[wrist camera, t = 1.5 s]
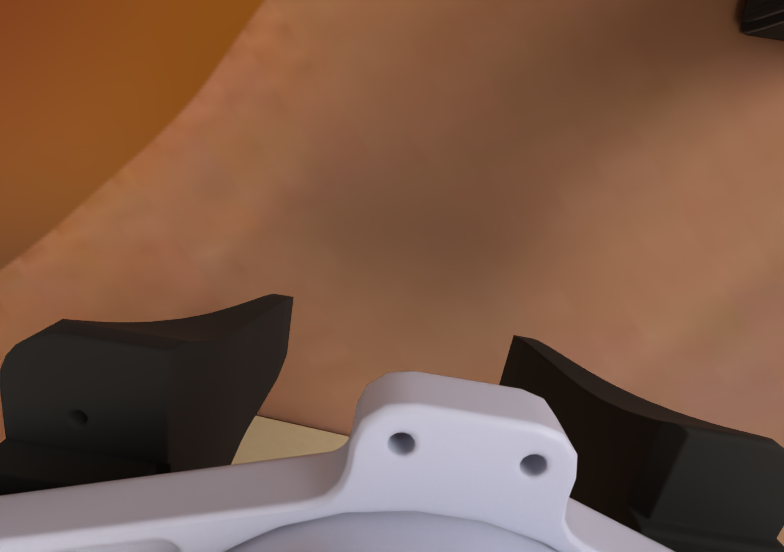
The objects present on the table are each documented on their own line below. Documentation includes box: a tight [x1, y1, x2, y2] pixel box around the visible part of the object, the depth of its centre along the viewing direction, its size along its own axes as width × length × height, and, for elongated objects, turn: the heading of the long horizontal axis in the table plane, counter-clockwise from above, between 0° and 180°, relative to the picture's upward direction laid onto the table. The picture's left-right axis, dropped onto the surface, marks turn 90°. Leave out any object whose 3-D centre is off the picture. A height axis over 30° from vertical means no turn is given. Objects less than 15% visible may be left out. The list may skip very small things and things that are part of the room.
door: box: [231, 416, 349, 465], centre depth 22 cm, size 6×16×10 cm, turn 76°
